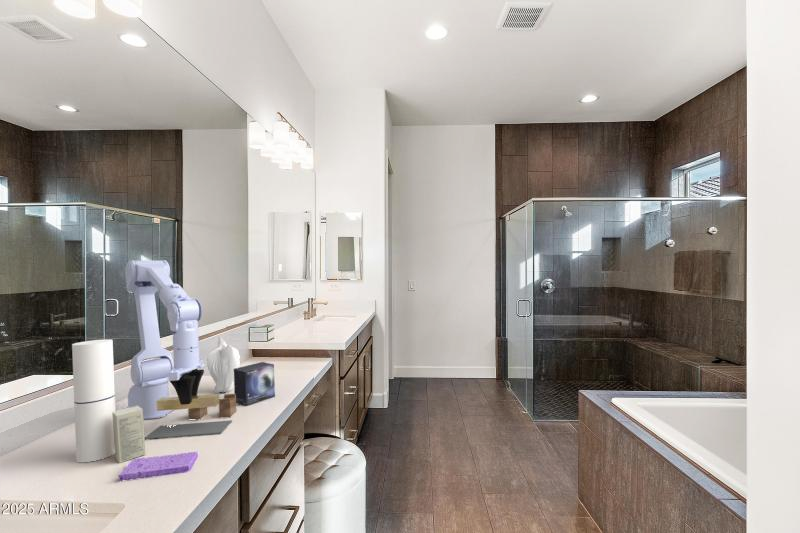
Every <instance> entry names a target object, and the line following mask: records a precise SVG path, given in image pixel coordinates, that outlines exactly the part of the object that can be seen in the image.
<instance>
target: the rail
mask: <svg viewBox="0 0 800 533" xmlns="http://www.w3.org/2000/svg"><path fill="white" fill-rule="evenodd" d="M219 399H220V393H212V394H199V395H198V394H197V395H196V396H192V398H191V403H190V404H186V405H181V404H180V401H179V398H178V396H169V397H168V398H161V399H159V400H158V401H157V411H163V410H172V411H174V410H175V411H176V410H186V409H190V408H204V407H207V408H215V407H217V406H219Z"/></svg>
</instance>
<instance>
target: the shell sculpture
mask: <svg viewBox="0 0 800 533" xmlns="http://www.w3.org/2000/svg"><path fill="white" fill-rule="evenodd" d="M240 359H241V355H240V354H239V350H238V349H237V348H236V347H233V346H232V345H231V344H230V343H228V344H227V343H226V341H225V340H223V337H222V336H220V337H218V341H217V347H216V349H214V350H211V351H210V352H209V354H208V355H207V359H206V361H207V362H206V364H207V365H206V367H207V370H208V372H209V375H210V377H211V378H212V380H213V381H214V383H215V386H214V392H215V393H216V392H217V393H216V394H220V393H219V392H223V393H224V392H227V393H229V392H231V391H232V390H233V389H234V369H235V368H239V367H240V364H241V363H240ZM230 390H231V391H230Z"/></svg>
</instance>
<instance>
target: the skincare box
mask: <svg viewBox="0 0 800 533" xmlns="http://www.w3.org/2000/svg"><path fill="white" fill-rule="evenodd" d="M112 416H113V430H114V444H115V454H114V457H116V458H115V460H116V459H117V460H116V462H117V463H118V464H120V463H124V462H126V461H127V462H128V461H130V460H133V459H137V458H140V457H142V456H144V455H145V456H146V452H147V451H146V442H145V441H146V440H145V438H144V437H145V426H144V424H145V423H144V419H143V410H142V408H141V407H139V406H134V407H130V408H128V407H127V408H123V409H118V410H115V412H112Z"/></svg>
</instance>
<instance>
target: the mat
mask: <svg viewBox="0 0 800 533" xmlns="http://www.w3.org/2000/svg"><path fill="white" fill-rule="evenodd" d="M232 422H233V420H219V421H218V420H217V421H206V422H204V421H203V422H193V423H192V422H190V423H181V424H180V423H178V424H177V423H176V424H177V425H176V424H175V425H176V426H174V427H173V425H174V424H171V425H172V426H171V428H170V427H169V426H168V427H167V425H168V424H165V426H164V425H160V426H158V427H157V428H156V429H154V430H153V431H151V432H150V433H149V434H147V435H146V436H144V438H145V441H146V439H150V440H156V439H155V438H162V439H168V438H167V437H175V438H183V437H182V436H188V437H201V436H211V435H212V436H213V435H221V434H222V433H224V431H225V430H226V429H227V428H228V427H229V426H230V425H231V424H232ZM229 424H230V425H229ZM228 425H229V426H228ZM227 426H228V427H227Z"/></svg>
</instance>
